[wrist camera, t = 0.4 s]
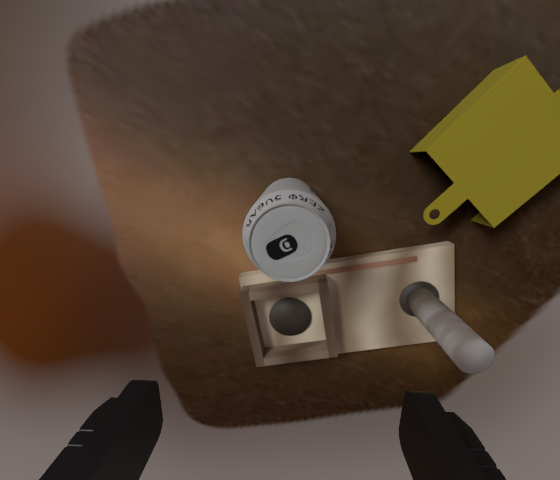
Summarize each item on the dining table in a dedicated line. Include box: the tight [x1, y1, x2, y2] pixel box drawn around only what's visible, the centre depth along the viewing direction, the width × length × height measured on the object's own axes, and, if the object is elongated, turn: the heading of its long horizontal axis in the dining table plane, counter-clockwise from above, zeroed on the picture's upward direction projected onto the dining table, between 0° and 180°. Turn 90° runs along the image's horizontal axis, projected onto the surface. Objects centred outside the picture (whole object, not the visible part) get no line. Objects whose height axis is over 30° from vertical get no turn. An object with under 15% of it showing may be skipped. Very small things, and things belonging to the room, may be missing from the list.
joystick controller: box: [239, 241, 495, 374], centre depth 28 cm, size 24×12×11 cm, turn 100°
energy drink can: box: [243, 178, 336, 282], centre depth 23 cm, size 6×6×15 cm
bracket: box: [409, 56, 560, 228], centre depth 26 cm, size 16×8×15 cm
